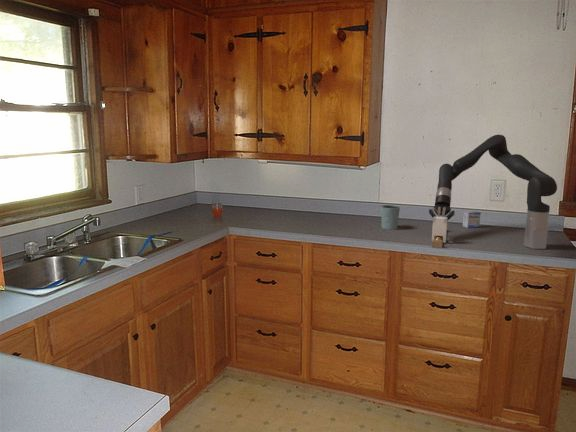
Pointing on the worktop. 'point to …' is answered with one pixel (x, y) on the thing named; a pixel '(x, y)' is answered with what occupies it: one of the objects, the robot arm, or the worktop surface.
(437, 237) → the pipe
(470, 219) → the medicine box
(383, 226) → the grey-green cup
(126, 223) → the worktop surface
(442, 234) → the beige rectangular block
